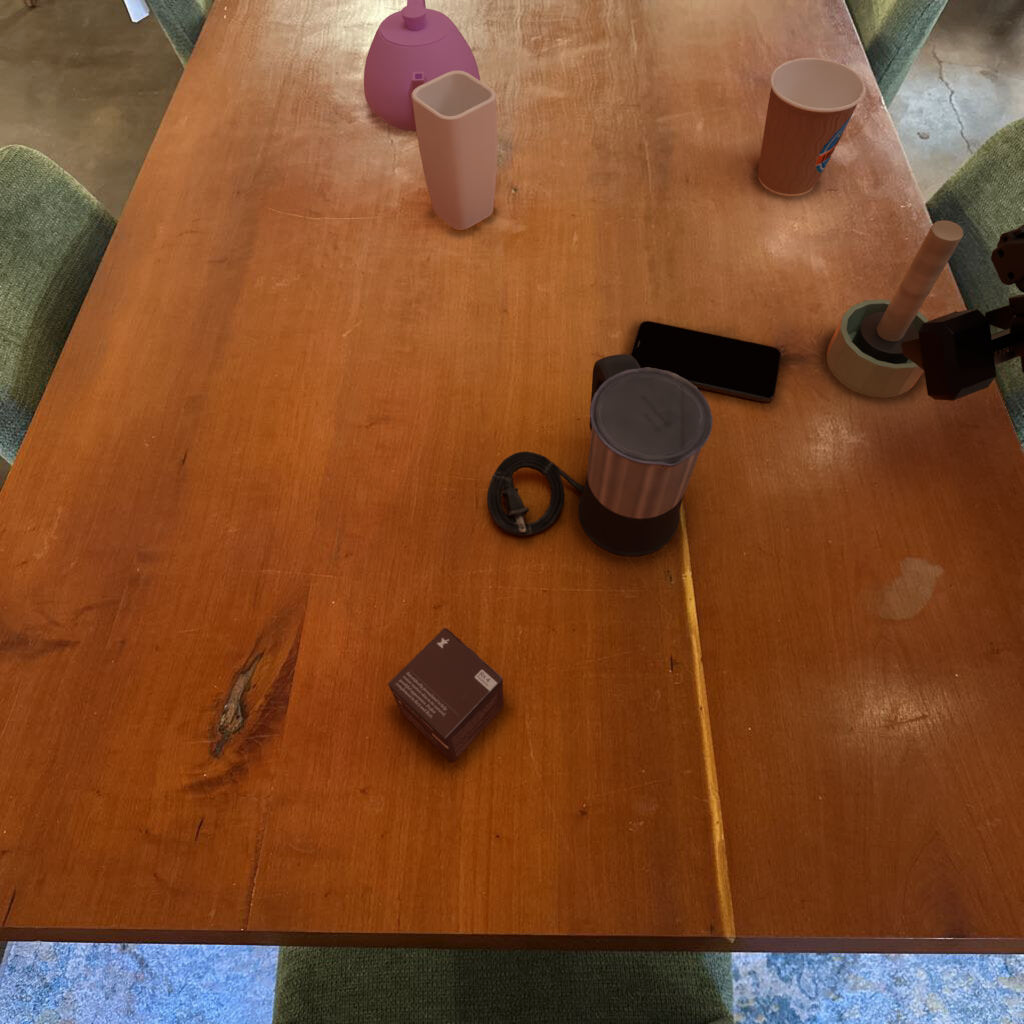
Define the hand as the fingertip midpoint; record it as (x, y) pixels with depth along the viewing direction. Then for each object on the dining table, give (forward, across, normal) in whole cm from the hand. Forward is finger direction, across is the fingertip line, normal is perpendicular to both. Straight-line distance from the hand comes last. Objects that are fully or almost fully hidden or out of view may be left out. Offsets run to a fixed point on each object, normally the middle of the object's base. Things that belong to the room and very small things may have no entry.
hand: (945, 332), depth 68 cm
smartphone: (+15, +16, -2) cm, 22 cm away
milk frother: (+7, +35, +6) cm, 36 cm away
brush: (+10, 0, +2) cm, 10 cm away
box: (-2, +52, +15) cm, 55 cm away
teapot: (+54, +27, -42) cm, 74 cm away
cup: (+38, +30, -25) cm, 54 cm away
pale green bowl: (+10, 0, +3) cm, 10 cm away
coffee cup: (+31, -9, -18) cm, 37 cm away
